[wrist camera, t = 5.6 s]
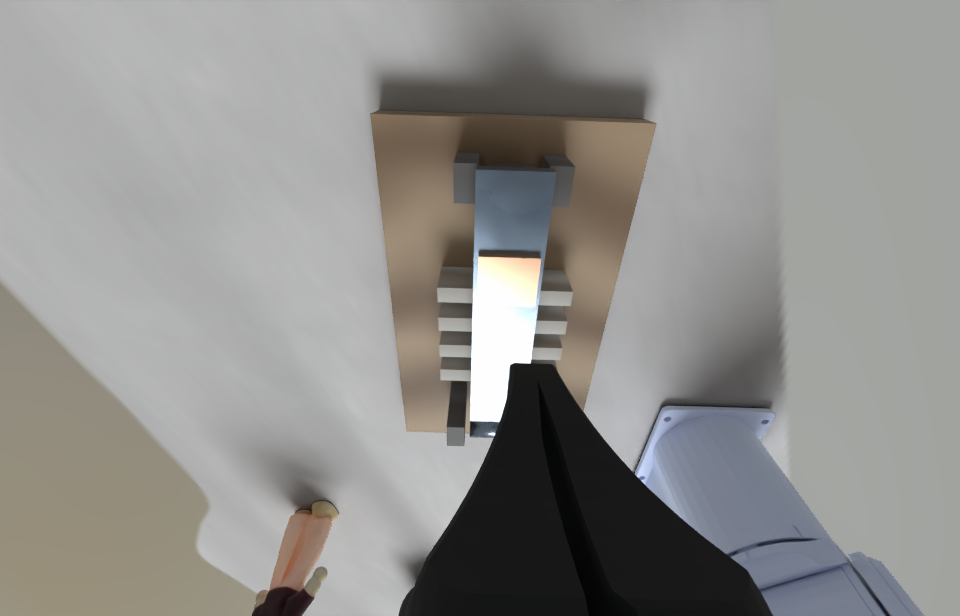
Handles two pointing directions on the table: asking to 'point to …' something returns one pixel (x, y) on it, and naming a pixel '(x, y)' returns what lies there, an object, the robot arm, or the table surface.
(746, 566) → the robot arm
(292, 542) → the grandmother figurine
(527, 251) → the bar
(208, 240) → the table surface
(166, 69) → the table surface
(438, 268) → the base
